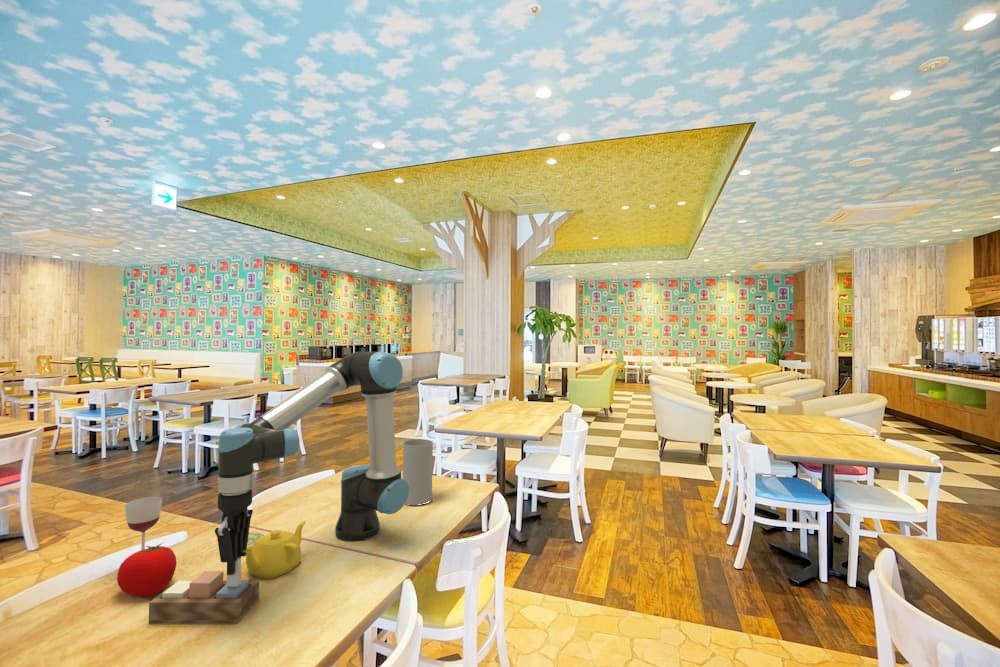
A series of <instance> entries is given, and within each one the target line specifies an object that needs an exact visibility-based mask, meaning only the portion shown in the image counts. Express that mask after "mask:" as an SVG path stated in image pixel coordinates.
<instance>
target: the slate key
mask: <svg viewBox="0 0 1000 667" xmlns="http://www.w3.org/2000/svg"><path fill="white" fill-rule="evenodd" d="M249 581H250V580H241V583H240V584H239V585H238V586H237V587H226V585H227V584H226V585H225V586H224V587H223V588H222V589H221V590H219V591H218V592H217V593H216V599H237V598H238V597H239V596H240V595H241V594H242V593H243V592H244V591H245V590H246V589H247V588H248V587H249Z"/></svg>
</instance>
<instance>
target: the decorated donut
mask: <svg viewBox="0 0 1000 667" xmlns="http://www.w3.org/2000/svg"><path fill="white" fill-rule="evenodd" d="M264 535H265V534H263V533H260V532H249V535H248V542H247V547H249V548H251V549H252V547H253V544H254V542H255V541H256V540H257V539H258V538H260V537H262V536H264ZM243 553H246V552H245V551H243Z"/></svg>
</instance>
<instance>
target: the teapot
mask: <svg viewBox="0 0 1000 667" xmlns="http://www.w3.org/2000/svg"><path fill="white" fill-rule="evenodd" d="M306 522H307V520H304V521H301V522H300V523H299V524H298V525H297V526H296V529H295V532H294V533H292V532H290V531H286V530H282V529H281V530H278V529H276V530H273V531H270V532H269V533H266V534H263V535H264V536H262V537H260V538H258V539H257V540H256V541H255V542H254V544H253V547H252V549H251V548H249V547H247V549H246V550H244V551H245V552H246V555H245V558H246V559H245V562H246V569H247V570H248V572H249V573H250V575H252V576H253V577H257V578H260V579H263V580H265V579H266V580H270V579H274V578H277V577H280V576H283V575H285V574H286V573H288V572H290V571H292V570H293V569H295V568H296V567H297V566H298V565H299V563H300V562H301V559H302V548H301V544H302V543H301V542H302V531H303V530H302V529H303V526H304V525H305V524H306Z"/></svg>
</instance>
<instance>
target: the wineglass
mask: <svg viewBox="0 0 1000 667" xmlns="http://www.w3.org/2000/svg"><path fill="white" fill-rule="evenodd" d="M124 506H125V519H126V523H127V527H128V528H129V529H131V530H132V531H135V532H140V533H141V544H140V545H141V546H140V547H141V549H140V551H141V550H144V549H146V548H145V547H146V545H145V544H146V531H148V530H149V529H151V528H152V527H154V526H155V525H156V524H157V523H158V521H159V520H160V516H161V513H162V508H163V507H162V506H163V497H161V496H147V497H146V496H145V497H141V498H137V499H134V500H131V501H129V502H127V503H126V504H125V505H124Z"/></svg>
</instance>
